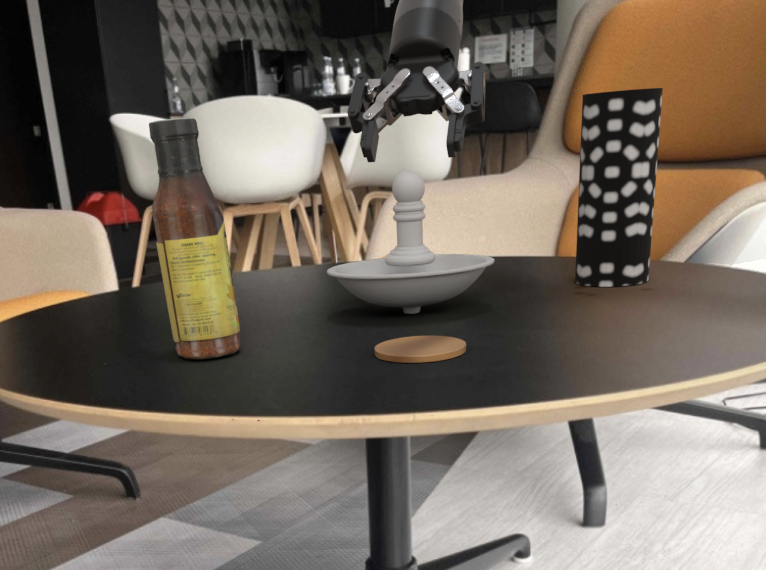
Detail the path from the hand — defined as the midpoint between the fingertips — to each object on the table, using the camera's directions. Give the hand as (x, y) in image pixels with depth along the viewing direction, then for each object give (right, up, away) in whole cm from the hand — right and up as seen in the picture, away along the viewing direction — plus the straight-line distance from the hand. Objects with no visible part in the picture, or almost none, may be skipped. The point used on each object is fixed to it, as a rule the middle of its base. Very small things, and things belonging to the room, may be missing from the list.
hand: (409, 154), depth 90 cm
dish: (0, -16, +4) cm, 16 cm away
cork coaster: (0, -23, -13) cm, 27 cm away
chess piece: (0, -11, +2) cm, 11 cm away
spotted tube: (+25, -9, +13) cm, 30 cm away
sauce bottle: (-20, -23, -8) cm, 31 cm away
